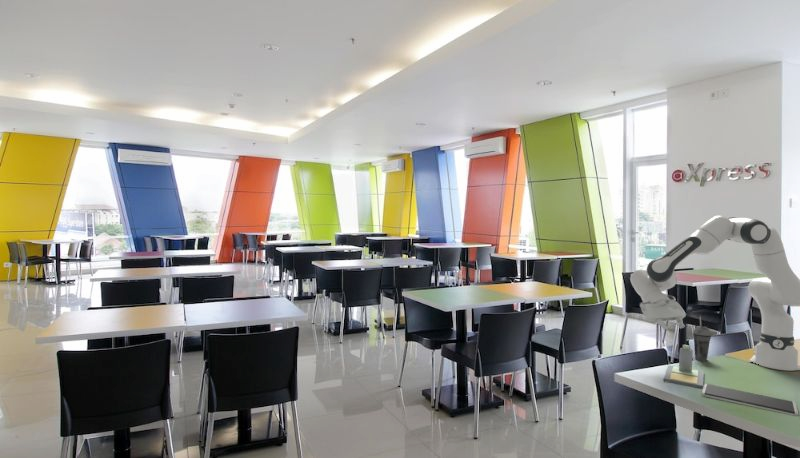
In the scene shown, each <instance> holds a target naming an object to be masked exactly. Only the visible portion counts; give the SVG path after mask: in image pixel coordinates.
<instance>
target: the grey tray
mask: <svg viewBox="0 0 800 458" xmlns="http://www.w3.org/2000/svg"><path fill="white" fill-rule="evenodd" d="M700 394H701V396H703V397H706V398H711V399H715V400H720V401H725V402H729V403H732V404H734V403H735V404H738V405H743V406H749V407H754V408H758V409H761V410H762V409H763V410H766V411H772V412H777V413H781V414H786V415H791V416H795V417H799V410H798V407H797V403H796V402H795V401H792V400H788V399H787V400H786V399H783V398H776V397H773V396H767V395H763V394H759V393H754V392H750V391H749V392H747V391H743V390H739V389H734V388H728V387H723V386H720V385H714V384H709V383H703V388H702V390H701V393H700Z"/></svg>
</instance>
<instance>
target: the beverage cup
mask: <svg viewBox="0 0 800 458" xmlns="http://www.w3.org/2000/svg"><path fill="white" fill-rule="evenodd" d="M692 334H693V336H692V337H693V344H694V345H693V346H694V359H696V360H698V361H701V360H707V359H708V357H709V356H708V355H709V348H710V341H711V338H712V333H711V330H710V329H709V327H708V326H705V325H702V317H701V315H699V325H697V326H695V328H694V329H693V332H692Z"/></svg>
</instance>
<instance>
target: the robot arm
mask: <svg viewBox="0 0 800 458" xmlns="http://www.w3.org/2000/svg"><path fill="white" fill-rule="evenodd" d="M726 240H728V241H733V242H736V243H740V244H749V245H751V249H752V253H753V257H754V261H755V264H756V265H755V266H756V269H757V270H758V271H759V272H760V273H761V274H763V275H765V277H756V278H753V279H752V280H751V281H750V282H749V283H748V287H747V292H748V294H749V295H750V297H752V298H753V299H754V300H755V303H756V304H757V306H758V308H759V310H760V315H761V332H760V334H759V342H757V343H756V344H755V345H754V346H753V352H754V353H753V355H752V357H750V359H749V361H750V362H749V361H748V362H749V363H751V362H753V363H752V364H755V363H756V365H758V364H759V365H758V366H760V367H764V368H769V369H773V370H779V371H791V372H792V371H800V365H799V350H798V349H796V347H795V346H794V345H795V337H794V318H793V317H792V316H791V315H790V314H789V313H788V312H787V311H786V310H785V307H784V306H788V307H800V278H799V277H798V275H796V273H795V272H794V271H793V269H792V268H791V266H790V264H789V262H788V259H787V255H786V251H785V247H784V244H783V242H782V239H781V237H780V234H779V232H778V231H777V229H776V228H774V227H771V226H768V225H767V224H766V223H765V222H763V221H761V220H759V219H756V218H755V219H754V218H749V217H726V216H723V215H715V216H713V217H711V218H709V219H708V220H707V221H706V222H704V223H702V224H701V225H700V226H699V227H698V228H697V229H695V231H693V233H691V234H690V235H689V236H688V237H686V238H685V239H683V240H682V241H680V242H679V243H678V244H676V245H675V246H674V247H673V248H671V249H670V250H669V251H668V252H666V253H665V254H663V255H662V256H659V257H655V258H654V259H652V260H651V261H650V262H649V263H648V264H647V267H646V269H645V268H639V269H636V270H634V272H632V274H631V276H630V277H629V280H630V283H631V286H632V288H634V291H635V292H636V293H637V294H638V295H639V296H640V298H641V302H640V303H639V307H640V309H641V313H642V314H643V316H644V317H645V319H646V321H647V322H649V323H655V322H656V324H657V325H658V326H660V327H661V328H662V330H664V331H666V330H668V329H669V326H668V324H667V323H664V322H668V321H676V322H677V323H678V324H677V327H678V328H679V329H684V328H685V327H686V325H685V323H684V321H683V319H684V318H686V316H687V313H686V312H685V310H684V309H683V307H682V306H681V305H680V303H679V302H678V301H676V300H677V299H676V297H675V296H673V295H671V294H670V295H669V294H666V293H665V292H664V291H668V290H671V289H672V288H674V287H675V286H676V285H677V282H678V277H677V275H676V273H675V270H676V269H675V268H676V267H677V266H678V265H679V264H680V263H681V262H683V261H684V260H685V259H686V258H688V257H689V256H690V255H693V254H696V255H703V256H704V255H706V256H707V255H709V254H711V253H712V252H715V251H716V249H718V247H720V246H721V245H722V244H723V243H724V242H725V241H726ZM663 292H664V293H663Z"/></svg>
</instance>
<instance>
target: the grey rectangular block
mask: <svg viewBox="0 0 800 458" xmlns="http://www.w3.org/2000/svg"><path fill="white" fill-rule="evenodd" d="M693 352H694V350H693V349H691V345H688V344H682V347H680V348H679V354H678V356H679V357H678V361H679V362H678V367H679V371H682V372H686V373H691V372H692V369H693V354H694V353H693Z"/></svg>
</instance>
